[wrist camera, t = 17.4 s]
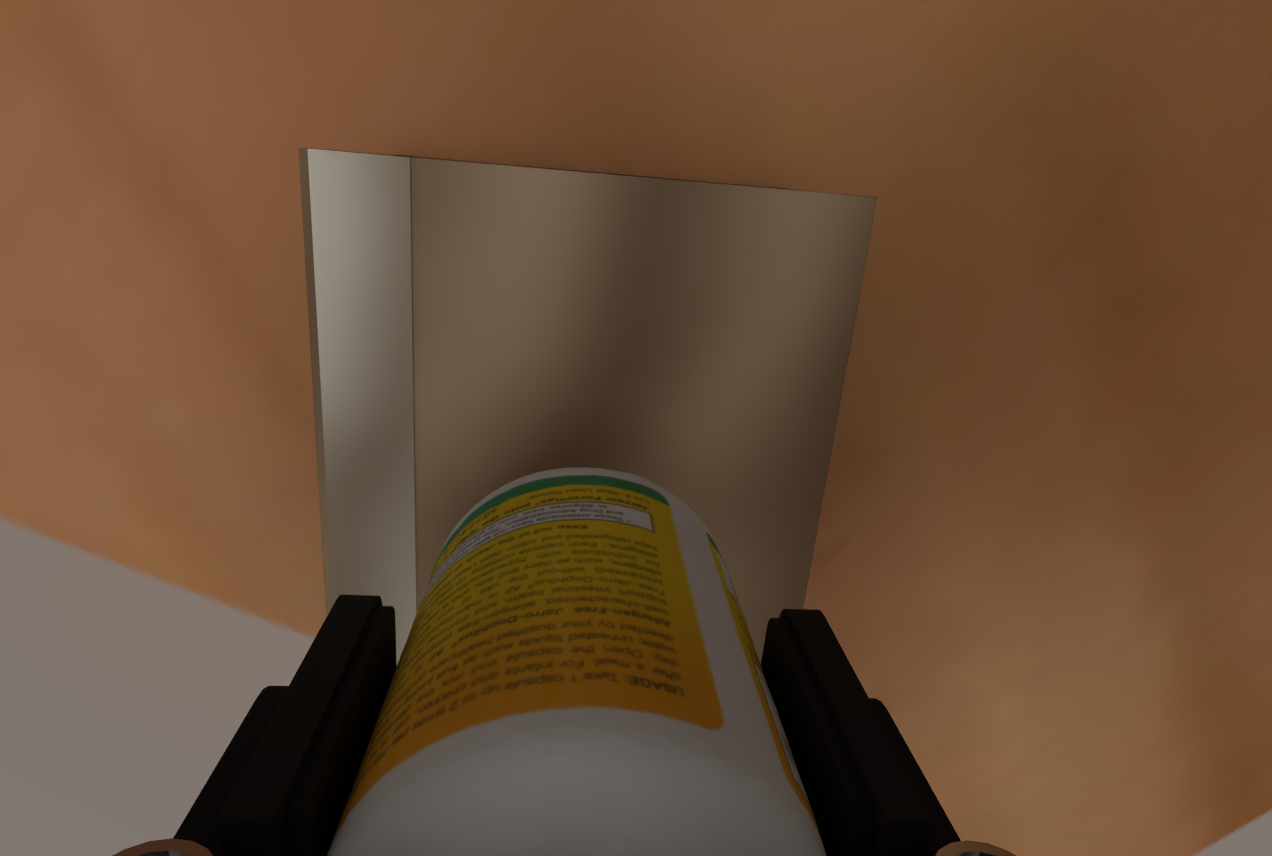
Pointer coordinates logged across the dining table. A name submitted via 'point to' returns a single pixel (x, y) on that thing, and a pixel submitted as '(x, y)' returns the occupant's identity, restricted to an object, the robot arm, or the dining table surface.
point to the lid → (571, 355)
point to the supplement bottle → (578, 692)
